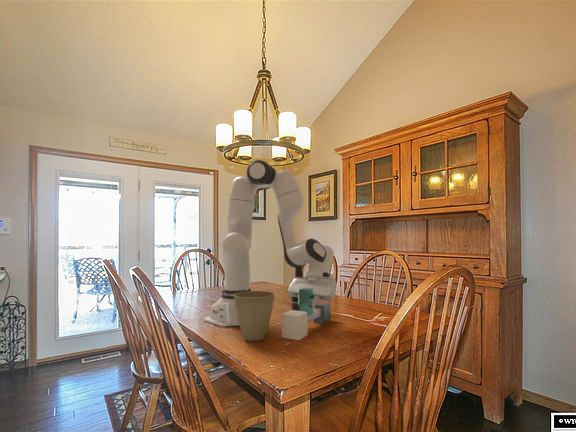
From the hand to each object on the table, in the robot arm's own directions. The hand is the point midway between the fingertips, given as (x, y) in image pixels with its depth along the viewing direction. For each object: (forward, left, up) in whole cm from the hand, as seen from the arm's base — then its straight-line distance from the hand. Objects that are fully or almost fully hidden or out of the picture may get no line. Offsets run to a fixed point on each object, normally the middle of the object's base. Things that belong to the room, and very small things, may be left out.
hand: (305, 306), depth 126 cm
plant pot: (-12, -17, -10) cm, 23 cm away
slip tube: (0, +2, -6) cm, 6 cm away
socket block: (0, -8, -9) cm, 13 cm away
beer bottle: (-18, +27, -10) cm, 33 cm away
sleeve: (0, +15, -9) cm, 18 cm away
